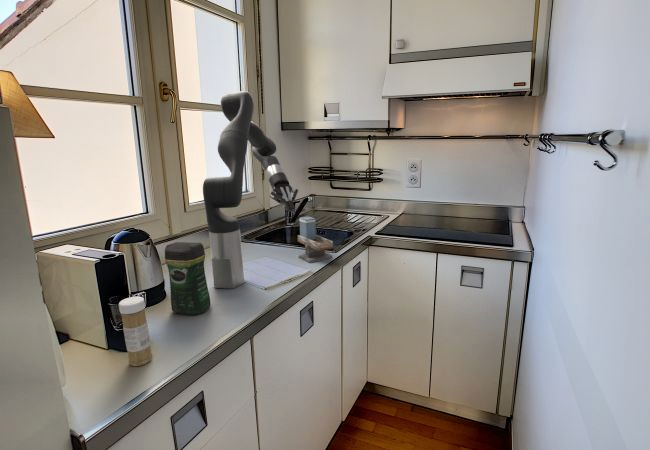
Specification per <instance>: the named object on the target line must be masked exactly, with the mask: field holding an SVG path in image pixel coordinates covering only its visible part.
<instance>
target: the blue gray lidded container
mask: <svg viewBox="0 0 650 450" xmlns="http://www.w3.org/2000/svg"><path fill="white" fill-rule="evenodd" d="M298 221H299V235H300V236H303V237H305V238H308V239H310V240H314V239H316V235H317V231H316V218H314V217H311V216H302V217H299V220H298Z"/></svg>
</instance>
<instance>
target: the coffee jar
mask: <svg viewBox="0 0 650 450" xmlns="http://www.w3.org/2000/svg"><path fill="white" fill-rule="evenodd" d="M164 248H165V249H164V261H165V263H166V266H167V269H168V276H169V277H168V278H169V285H170V287H169V288H170V305H171V311H172V312H173V313H175V314H179V315H184V316H186V315H187V316H188V315H189V316H190V315H191V316H194V315H195V316H196V315H198V314H201V313H204V312H206V311H207V310H208V309H209V308H210V307H211V304H212V303H211V298H210V291H209V288H208V283H207V277H206V271H205V259H206V252H205V249H204V244H202V242H192V241H191V242H187V241H175V242H174V241H173V242H172V243H168V244H167V245H165V247H164Z"/></svg>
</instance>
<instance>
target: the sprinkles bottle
mask: <svg viewBox="0 0 650 450" xmlns="http://www.w3.org/2000/svg"><path fill="white" fill-rule="evenodd" d="M118 309H119V313H120V315H121V321H122V327H123V328H122V329H123V334H124V335H123V336H124V341H125V346H126V350H127V358H128V365H130V366H132V367H139V366H144V365H146V364H148V363H149V362H151V360H153V354H152V349H151V348H152V347H151V339H150V332H149V325H148V321H147V315H146V303H145V298H144V297H142V296H130V297H127V298H124V299H122V300H120V301H119V303H118Z"/></svg>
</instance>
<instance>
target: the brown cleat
mask: <svg viewBox="0 0 650 450" xmlns="http://www.w3.org/2000/svg"><path fill="white" fill-rule="evenodd" d="M297 242H298V243H300V244H303V245H304V249H305V251H304V252H305V253H303V254H299V255H298V256H297V257H298V258H299V259H301V260H302V261H305V262H307V263H311V264H312V263H314V262H318V261H323V260H328V259H332V258H333V255H332V254H329V253H327V252H325V251H326V250H331V249H333V248H334V241H333V240H330V239H328V238H325V237H322V236H320V235H319V234H318V235H317V234H316V239H314V240H310V239H308V238H305V237H303V236H300V234H297Z"/></svg>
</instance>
